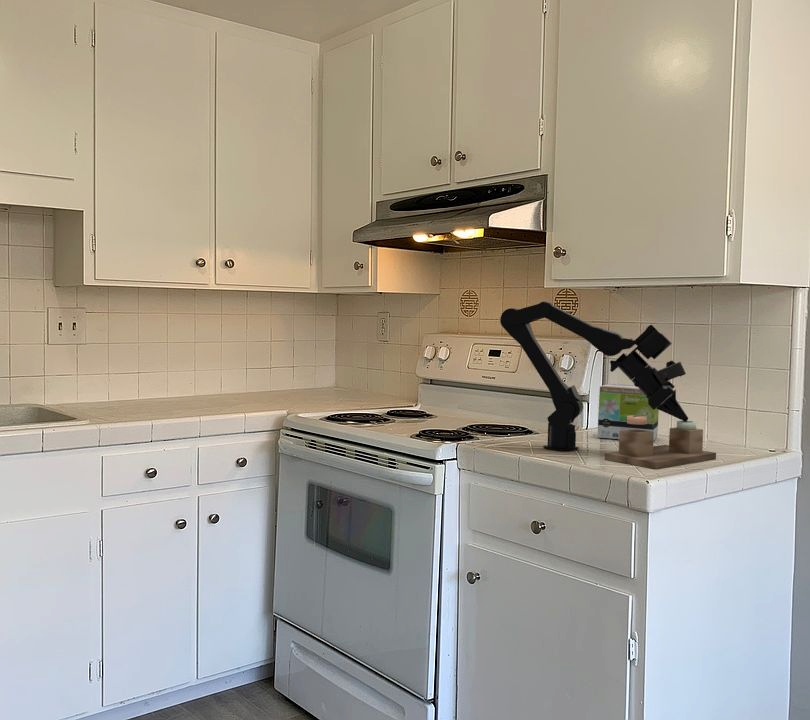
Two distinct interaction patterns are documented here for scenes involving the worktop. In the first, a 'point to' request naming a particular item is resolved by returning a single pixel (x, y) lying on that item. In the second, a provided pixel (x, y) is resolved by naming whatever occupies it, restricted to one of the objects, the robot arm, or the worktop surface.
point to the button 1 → (637, 419)
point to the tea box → (623, 410)
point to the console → (660, 449)
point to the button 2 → (686, 425)
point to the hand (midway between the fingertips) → (687, 420)
